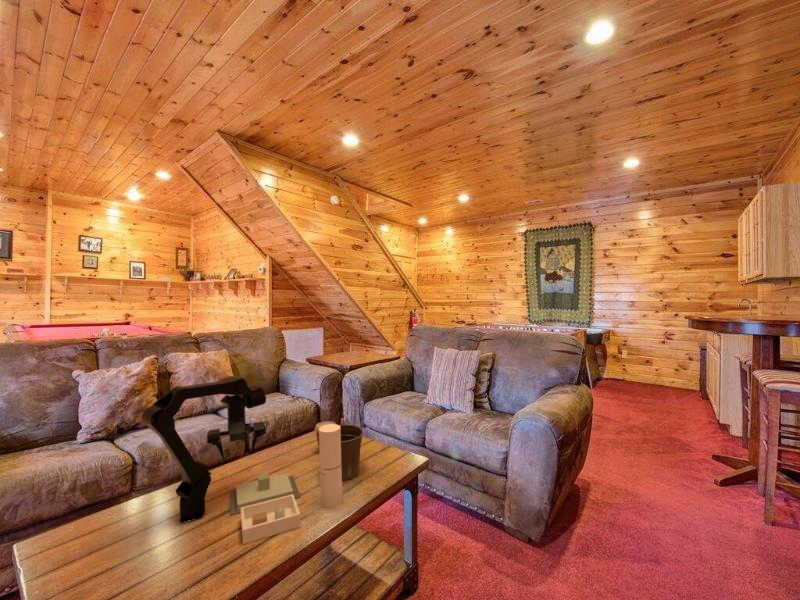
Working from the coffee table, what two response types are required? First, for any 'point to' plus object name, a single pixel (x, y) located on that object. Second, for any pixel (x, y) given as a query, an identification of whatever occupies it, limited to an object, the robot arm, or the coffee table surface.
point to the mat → (234, 497)
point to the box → (269, 518)
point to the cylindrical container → (330, 465)
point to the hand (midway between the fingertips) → (237, 455)
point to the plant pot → (350, 450)
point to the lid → (263, 490)
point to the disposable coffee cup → (320, 426)
